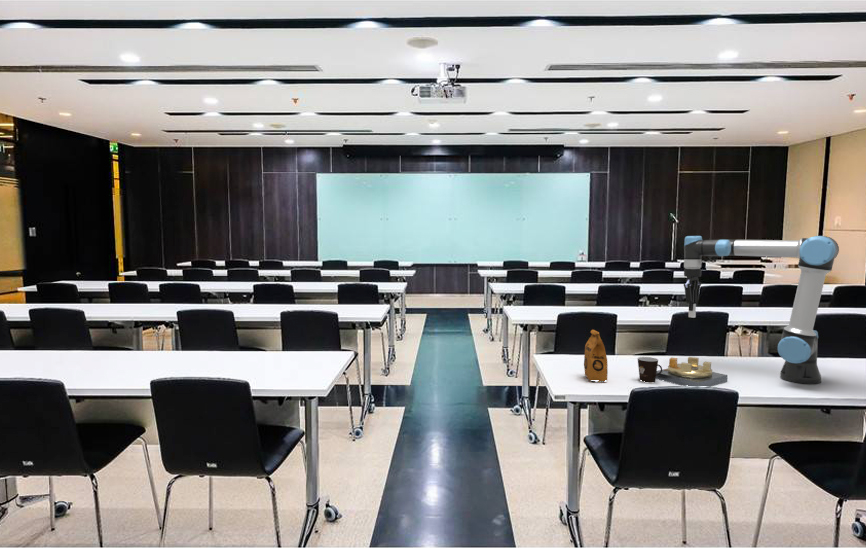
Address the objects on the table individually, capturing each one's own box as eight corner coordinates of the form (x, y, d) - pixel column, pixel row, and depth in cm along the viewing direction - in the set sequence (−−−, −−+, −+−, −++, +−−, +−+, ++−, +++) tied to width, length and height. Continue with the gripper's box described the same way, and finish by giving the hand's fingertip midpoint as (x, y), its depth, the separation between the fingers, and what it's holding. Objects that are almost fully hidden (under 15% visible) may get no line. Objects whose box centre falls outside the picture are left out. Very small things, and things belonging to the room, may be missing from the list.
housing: (727, 381, 238) (727, 374, 238) (698, 389, 227) (698, 382, 227) (681, 371, 257) (681, 364, 257) (652, 378, 245) (652, 371, 245)
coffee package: (586, 382, 239) (586, 333, 237) (582, 375, 251) (583, 329, 250) (609, 383, 237) (610, 334, 236) (604, 376, 250) (605, 329, 248)
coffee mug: (634, 378, 245) (634, 356, 244) (653, 378, 245) (653, 356, 244) (643, 385, 233) (644, 362, 233) (663, 385, 233) (664, 362, 233)
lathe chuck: (695, 367, 252) (695, 355, 251) (721, 376, 234) (721, 364, 234) (659, 368, 249) (660, 357, 249) (683, 378, 232) (683, 366, 231)
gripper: (694, 269, 249) (693, 319, 251) (707, 267, 258) (706, 316, 259) (678, 268, 255) (677, 317, 257) (691, 267, 263) (690, 315, 265)
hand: (692, 317), depth 258 cm, fingers closed
